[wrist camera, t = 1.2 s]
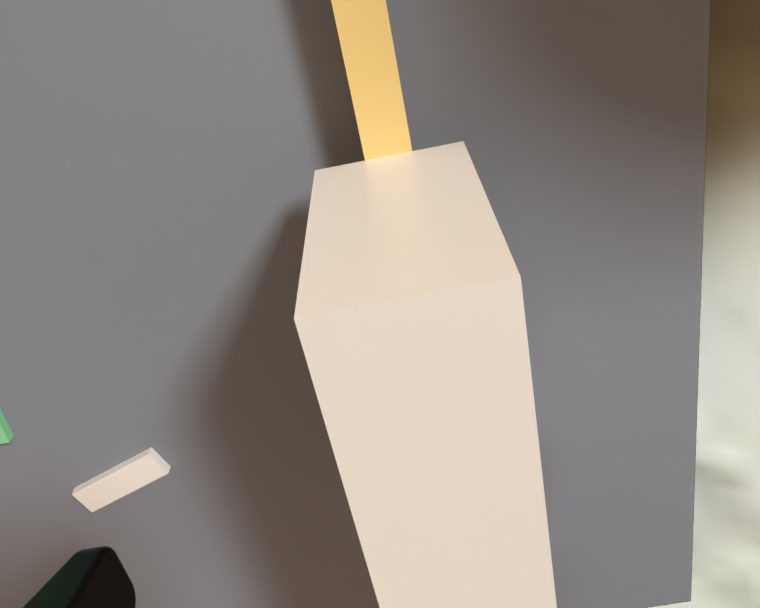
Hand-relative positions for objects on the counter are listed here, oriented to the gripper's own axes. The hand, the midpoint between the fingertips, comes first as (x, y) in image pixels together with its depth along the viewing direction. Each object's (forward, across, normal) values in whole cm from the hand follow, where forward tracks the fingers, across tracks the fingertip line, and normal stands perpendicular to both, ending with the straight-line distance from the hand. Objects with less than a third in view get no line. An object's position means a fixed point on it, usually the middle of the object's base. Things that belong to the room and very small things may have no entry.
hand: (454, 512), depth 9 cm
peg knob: (+4, 0, -3) cm, 5 cm away
